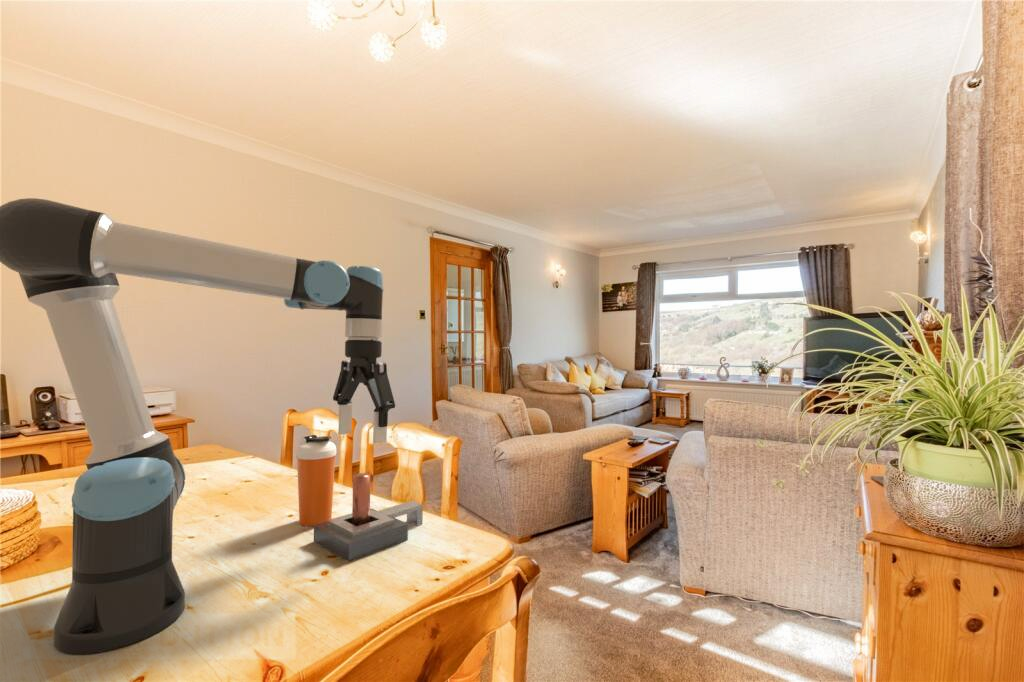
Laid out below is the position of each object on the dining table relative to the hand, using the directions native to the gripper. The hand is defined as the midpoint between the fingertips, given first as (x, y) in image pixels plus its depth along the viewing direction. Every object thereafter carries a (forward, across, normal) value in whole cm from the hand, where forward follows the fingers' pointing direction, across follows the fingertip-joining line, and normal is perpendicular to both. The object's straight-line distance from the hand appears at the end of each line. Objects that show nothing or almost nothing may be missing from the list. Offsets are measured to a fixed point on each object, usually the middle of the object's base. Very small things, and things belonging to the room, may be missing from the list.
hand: (361, 438), depth 102 cm
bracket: (+22, 0, -5) cm, 23 cm away
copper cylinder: (+22, 0, 0) cm, 22 cm away
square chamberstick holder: (+22, 0, 0) cm, 22 cm away
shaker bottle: (+22, +18, +1) cm, 29 cm away
